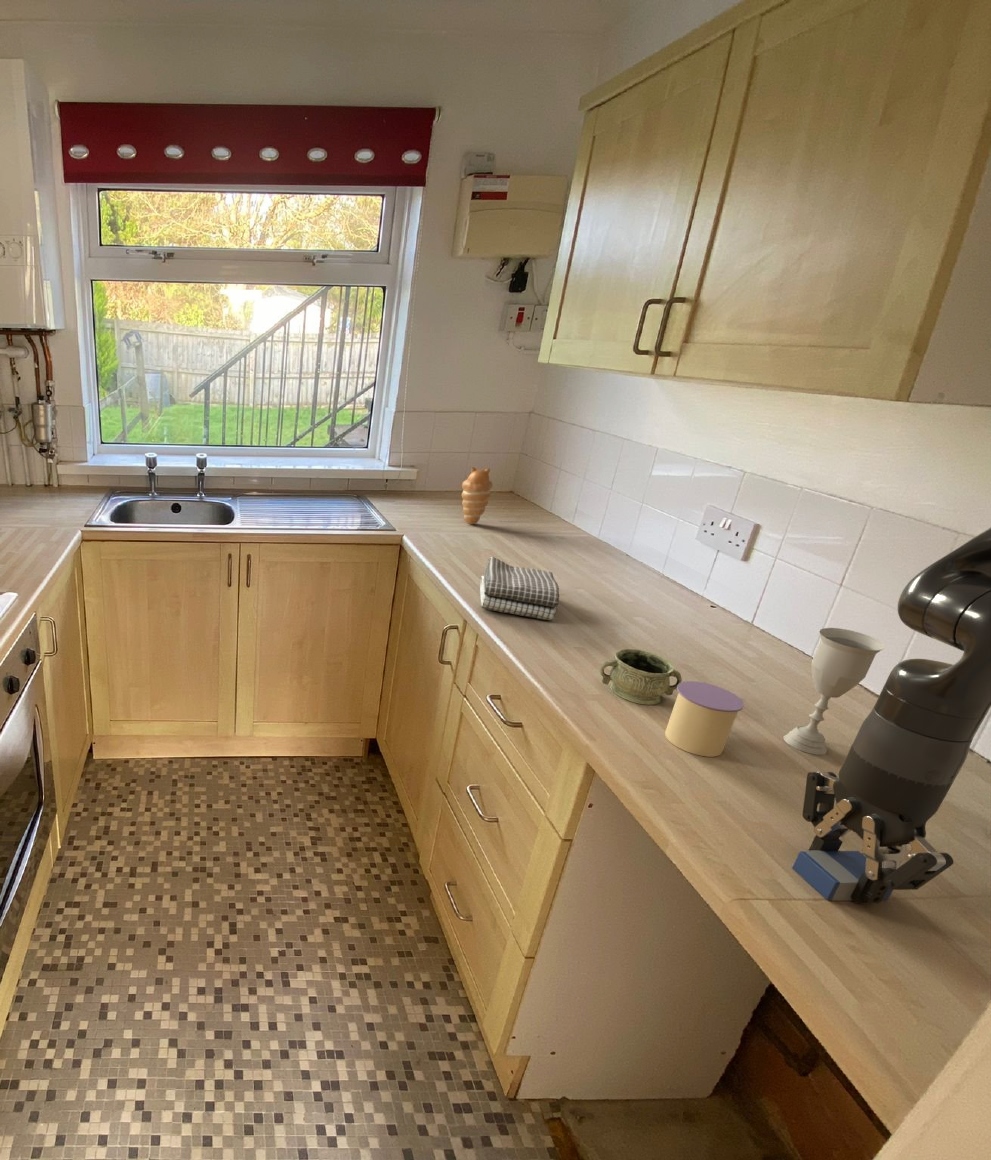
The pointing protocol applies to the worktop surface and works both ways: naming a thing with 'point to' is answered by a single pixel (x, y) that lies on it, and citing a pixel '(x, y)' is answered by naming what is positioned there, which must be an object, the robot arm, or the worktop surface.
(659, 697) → the vessel
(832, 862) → the block
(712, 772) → the worktop surface
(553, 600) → the towel
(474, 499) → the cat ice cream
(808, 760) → the worktop surface
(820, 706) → the chalice
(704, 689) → the yogurt pot
